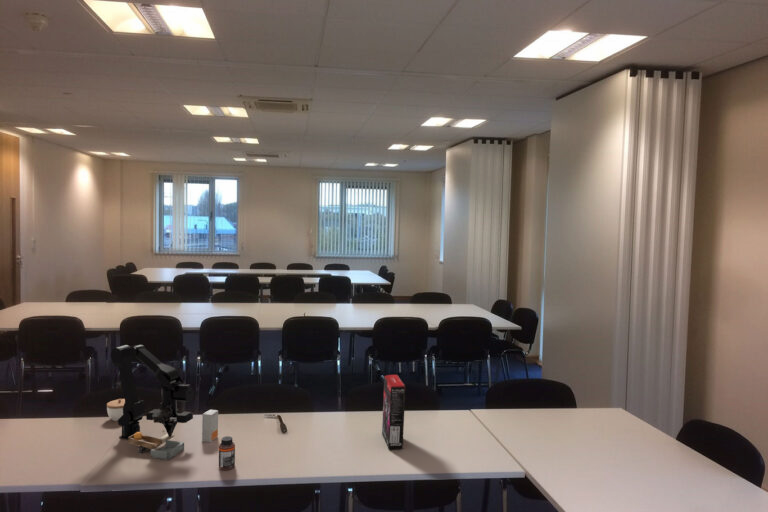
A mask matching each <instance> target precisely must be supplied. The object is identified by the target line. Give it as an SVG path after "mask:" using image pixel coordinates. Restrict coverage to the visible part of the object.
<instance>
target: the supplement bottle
mask: <svg viewBox="0 0 768 512" xmlns="http://www.w3.org/2000/svg"><path fill="white" fill-rule="evenodd" d="M220 439H221V442H220V444H219V445H218V469H219V470H222V471H228V470H232V469H233V468H235V466H236V464H235V463H236V444H235V442H233V437H232V436H227V435H226V436H223V437H221V438H220Z"/></svg>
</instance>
